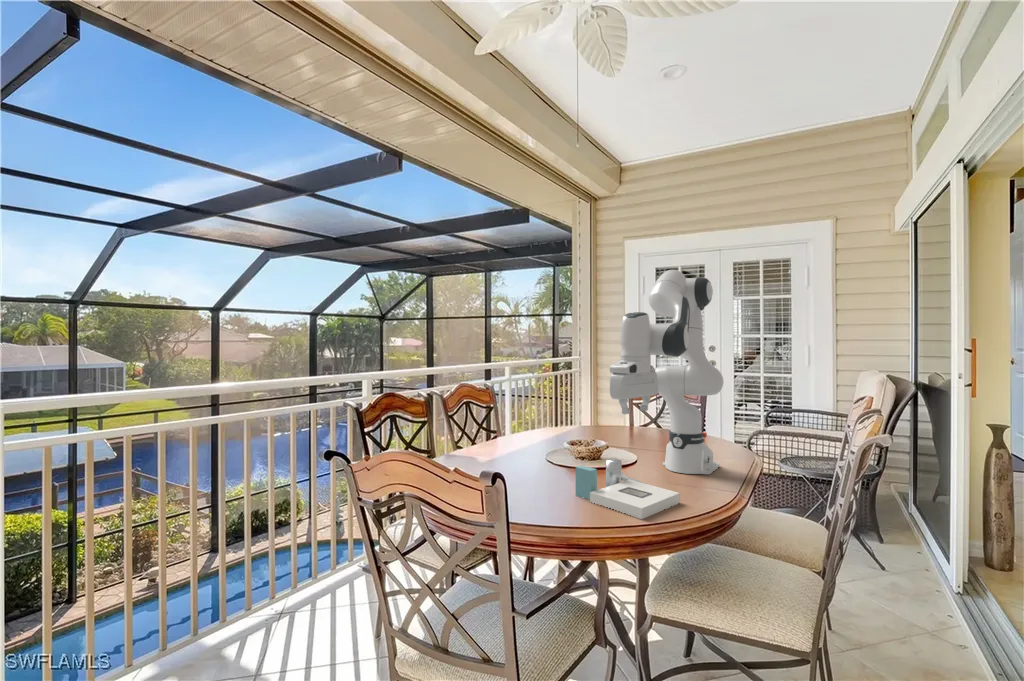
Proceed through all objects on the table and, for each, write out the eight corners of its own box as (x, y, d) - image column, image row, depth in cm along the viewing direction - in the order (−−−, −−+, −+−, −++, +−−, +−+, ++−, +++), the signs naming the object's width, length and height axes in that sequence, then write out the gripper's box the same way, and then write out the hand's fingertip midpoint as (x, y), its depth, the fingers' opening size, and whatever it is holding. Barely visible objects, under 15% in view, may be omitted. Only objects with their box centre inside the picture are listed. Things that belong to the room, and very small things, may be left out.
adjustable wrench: (662, 494, 153) (662, 489, 153) (645, 497, 151) (645, 491, 151) (616, 473, 176) (616, 468, 176) (601, 475, 174) (601, 470, 174)
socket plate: (629, 488, 157) (629, 479, 157) (679, 502, 144) (679, 492, 144) (589, 502, 144) (590, 491, 144) (641, 519, 130) (641, 507, 130)
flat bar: (581, 493, 152) (581, 465, 152) (596, 498, 148) (596, 469, 148) (575, 495, 150) (575, 466, 150) (590, 500, 146) (590, 470, 146)
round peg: (612, 484, 162) (612, 457, 162) (624, 488, 158) (624, 460, 158) (602, 487, 158) (602, 460, 158) (615, 491, 155) (615, 463, 155)
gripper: (645, 364, 153) (645, 407, 153) (605, 367, 139) (605, 414, 140) (663, 365, 148) (663, 410, 148) (624, 368, 135) (623, 417, 135)
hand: (635, 412), depth 144 cm, fingers open, 8 cm apart
